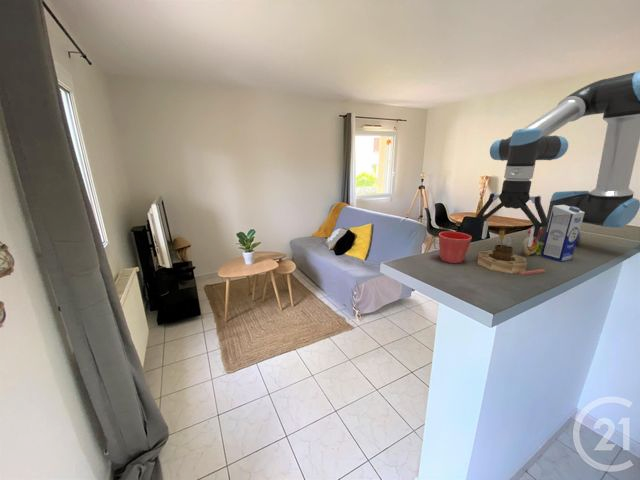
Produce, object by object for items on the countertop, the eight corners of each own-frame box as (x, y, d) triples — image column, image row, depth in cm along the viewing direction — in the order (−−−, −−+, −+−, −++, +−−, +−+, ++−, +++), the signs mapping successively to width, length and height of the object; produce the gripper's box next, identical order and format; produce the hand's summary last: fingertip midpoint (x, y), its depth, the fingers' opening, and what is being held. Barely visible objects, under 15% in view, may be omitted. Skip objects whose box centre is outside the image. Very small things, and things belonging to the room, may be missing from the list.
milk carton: (551, 253, 106) (563, 204, 100) (571, 259, 100) (586, 206, 94) (540, 256, 103) (552, 205, 98) (560, 261, 97) (575, 208, 92)
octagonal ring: (499, 256, 103) (500, 249, 102) (534, 270, 90) (536, 262, 89) (468, 259, 100) (470, 252, 99) (501, 274, 87) (502, 266, 86)
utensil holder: (495, 267, 92) (501, 234, 89) (487, 261, 98) (492, 230, 95) (514, 268, 91) (521, 234, 88) (504, 262, 97) (511, 230, 94)
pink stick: (542, 271, 89) (543, 269, 89) (545, 272, 89) (545, 270, 88) (518, 274, 87) (519, 271, 87) (521, 275, 86) (521, 272, 86)
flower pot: (467, 266, 93) (471, 240, 91) (434, 261, 99) (437, 236, 96) (468, 257, 102) (472, 233, 100) (437, 253, 107) (440, 230, 105)
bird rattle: (534, 263, 102) (550, 251, 104) (532, 239, 98) (549, 227, 100) (518, 258, 108) (533, 247, 109) (515, 234, 103) (531, 224, 105)
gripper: (471, 179, 93) (463, 237, 99) (567, 182, 75) (550, 252, 81) (479, 177, 98) (470, 233, 104) (570, 180, 80) (553, 246, 86)
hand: (505, 241), depth 93 cm, fingers open, 13 cm apart
